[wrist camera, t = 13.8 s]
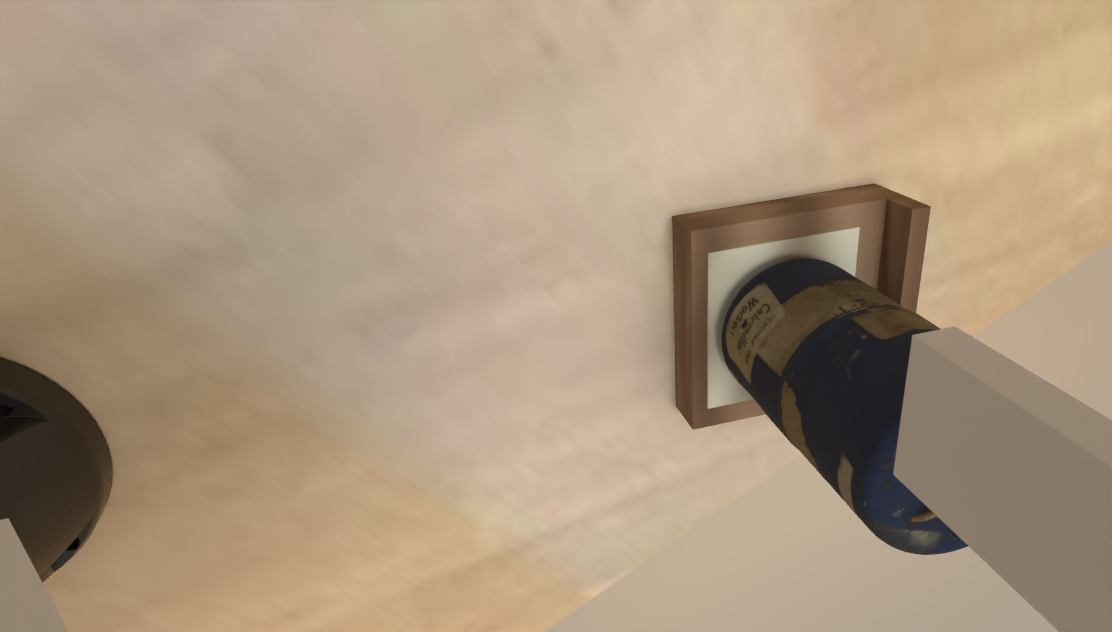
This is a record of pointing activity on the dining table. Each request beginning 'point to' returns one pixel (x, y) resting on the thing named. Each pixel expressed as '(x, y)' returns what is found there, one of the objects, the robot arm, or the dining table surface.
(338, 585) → the dining table surface
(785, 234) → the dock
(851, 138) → the dining table surface
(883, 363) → the canister
